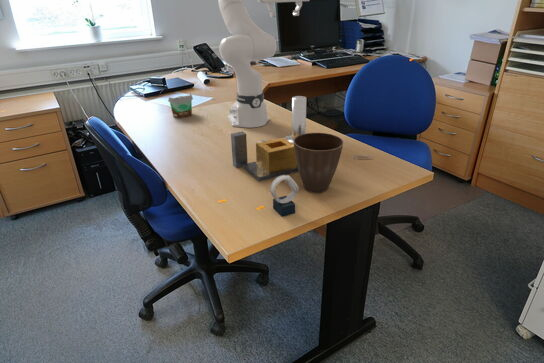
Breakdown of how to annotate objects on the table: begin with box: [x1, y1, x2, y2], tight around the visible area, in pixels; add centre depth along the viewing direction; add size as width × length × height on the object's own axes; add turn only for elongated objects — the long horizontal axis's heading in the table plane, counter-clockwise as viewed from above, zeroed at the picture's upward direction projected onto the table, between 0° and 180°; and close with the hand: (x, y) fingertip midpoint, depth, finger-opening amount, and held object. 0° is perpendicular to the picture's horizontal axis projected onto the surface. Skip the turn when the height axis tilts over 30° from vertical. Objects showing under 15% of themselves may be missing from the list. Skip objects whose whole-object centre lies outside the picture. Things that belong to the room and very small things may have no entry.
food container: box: [167, 93, 194, 119], centre depth 191 cm, size 12×6×10 cm, turn 126°
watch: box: [269, 174, 300, 218], centre depth 111 cm, size 6×8×11 cm
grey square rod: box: [230, 131, 249, 169], centre depth 139 cm, size 3×4×12 cm, turn 119°
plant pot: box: [294, 132, 344, 194], centre depth 122 cm, size 15×15×16 cm
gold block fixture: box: [243, 95, 307, 182], centre depth 136 cm, size 17×24×24 cm
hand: (284, 16), depth 137 cm, fingers open, 8 cm apart
